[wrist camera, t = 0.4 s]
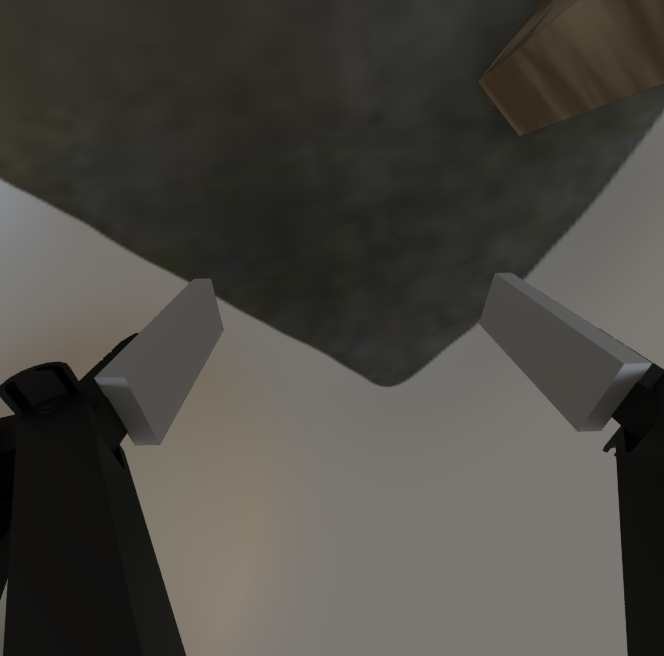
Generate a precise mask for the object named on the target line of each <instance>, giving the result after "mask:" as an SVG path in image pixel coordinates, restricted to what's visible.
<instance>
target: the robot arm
mask: <svg viewBox="0 0 664 656" xmlns="http://www.w3.org/2000/svg"><path fill="white" fill-rule="evenodd" d="M479 324H480V325H481V326H482V327H483V329H484V330H485V331H486V332H487V333H488V334H489V335H490V336H491V337H492V338H493V339H494V341H495V342H496V343H497V344H498V345H499V346H500V347H501V348H502V349H503V350H504V351H505V352H506V354H507V355H508V356H509V357H510V358H511V359H512V360H513V361H514V362H515V364H516V365H517V366H518V367H519V368H520V369H521V370H522V371H523V372H524V373H525V374H526V376H528V378H529V379H530V380H531V381H532V382H533V383H534V384H535V385H536V386H537V387H538V389H539V390H540V391H541V392H542V393H543V394H544V395H545V396H546V397H547V398H548V400H549V401H550V402H551V403H552V404H553V405H554V406H555V407H556V408H557V409H558V410H559V412H560V413H561V414H562V415H563V416H564V417H565V418H566V419H567V420H568V421H569V423H570V424H571V425H572V426H573V427H574V428H575V429H576V430H577V431H578V432H579V431H601V430H602V429H603V428H604V426H605V425H606V424H607V423H608V421H609V420H610V419H611V417H612V418H614V419H615V420H616V421H617V422H618V423H619V424H620V425H621V426H620V428H619V429H618V430H617V431H616V433H615V434H614V435H613V436H612V438H611V439H610V440H609V442H608V443H607V444H606V445H605V446H604V449H603V451H604V452H608V451H609V450H610V449H611V448H615V447H616V453H615V454H614V456H616V460H617V477H618V494H619V513H620V528H621V529H620V530H621V547H622V564H623V581H624V599H625V616H626V633H627V651H628V656H664V369H662V368H660V367H659V366H657V365H656V364H654V363H653V362H651V361H649V360H648V359H646V358H645V357H643V356H641V355H640V354H638V353H637V352H635V351H634V350H632V349H631V348H629V347H627V346H625V345H624V344H623V343H621V342H620V341H618V340H616V339H614V338H613V337H612V336H610V335H609V334H607V333H605V332H604V331H602V330H601V329H599V328H597V327H595V326H594V325H592V324H591V323H589V322H587V321H586V320H584V319H583V318H581V317H580V316H578V315H576V314H575V313H573V312H572V311H570V310H569V309H567V308H565V307H564V306H562V305H561V304H559V303H558V302H556V301H555V300H553V299H551V298H550V297H548V296H547V295H545V294H544V293H542V292H540V291H539V290H537V289H536V288H534V287H532V286H531V285H529V284H528V283H526V282H525V281H523V280H522V279H520V278H519V277H517V276H515V275H514V274H512V273H495V275H494V278H493V281H492V284H491V288H490V291H489V294H488V297H487V300H486V304H485V307H484V310H483V313H482V316H481V320H480V323H479ZM222 332H223V325H222V321H221V317H220V313H219V309H218V305H217V301H216V297H215V293H214V289H213V285H212V281H211V279H193V280H192V281H191V282H190V283H189V284H188V285H187V286H186V287H185V289H183V290H182V291H181V292H180V293H179V294H178V295H177V296H176V297H175V298H174V299H173V300H172V301H171V302H170V303H169V304H168V305H167V306H166V307H165V308H164V309H163V310H162V311H161V312H160V313H159V314H158V315H157V316H156V317H155V318H154V319H153V320H152V321H151V322H150V323H149V324H148V325H147V326H146V327H145V328H144V329H143V330H142V331H141V332H140V333H135V334H133V335H132V336H130V337H128V338H126V339H125V340H123V341H121V342H120V343H119V344H118V345H117V346H116V347H115V348H114V349H113V350H112V352H111V353H108V355H106V356H105V357H104V358H103V360H101V361H100V362H99V363H98V364H97V365H96V366H95V367H94V368H93V369H91V370H90V372H88V373H87V374H86V375H85V376H84V377H83V378H82V379H81V380H80V381H78V380H77V378H76V376H75V375H74V373H73V371H72V370H71V369H70V367H69V366H68V365H67V364H66V363H63V362H51V363H44V364H41V365H37V366H33V367H31V368H28V369H26V370H23V371H21V372H19V373H17V374H16V375H14V376H12V377H10V378H9V379H8V380H6V381H5V382H4V383H3V384H1V385H0V397H1V398H2V400H3V401H4V402H5V403H6V404H7V405H8V406H9V407H10V409H11V410H12V411H13V412H14V413H15V415H11V416H7V417H3V418H0V599H1V596H2V593H3V590H4V588H5V585H6V582H7V579H8V584H7V601H6V617H5V634H4V650H3V656H186V654H185V650H184V647H183V644H182V641H181V638H180V634H179V631H178V627H177V624H176V621H175V618H174V614H173V611H172V608H171V605H170V601H169V598H168V595H167V591H166V588H165V585H164V581H163V578H162V575H161V571H160V568H159V565H158V562H157V559H156V555H155V552H154V548H153V545H152V542H151V539H150V535H149V532H148V529H147V525H146V523H145V519H144V516H143V512H142V509H141V506H140V502H139V499H138V496H137V492H136V489H135V486H134V483H133V479H132V476H131V473H130V469H129V466H128V463H127V460H126V457H125V453H124V451H123V449H122V447H121V446H120V443H121V441H122V440H123V438H124V437H125V436H126V434H127V433H128V435H129V437H130V438H131V440H132V442H133V443H134V445H160V444H161V442H162V440H163V438H164V437H165V435H166V433H167V431H168V429H169V427H170V426H171V424H172V422H173V420H174V419H175V417H176V415H177V413H178V411H179V409H180V408H181V406H182V404H183V402H184V400H185V398H186V397H187V395H188V393H189V391H190V390H191V388H192V386H193V384H194V382H195V381H196V379H197V377H198V375H199V373H200V371H201V370H202V368H203V366H204V364H205V362H206V361H207V359H208V357H209V355H210V353H211V351H212V349H213V348H214V346H215V344H216V343H217V341H218V339H219V337H220V335H221V333H222Z"/></svg>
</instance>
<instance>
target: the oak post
mask: <svg viewBox="0 0 664 656" xmlns="http://www.w3.org/2000/svg"><path fill="white" fill-rule="evenodd" d="M477 83H478V84H479V85H480V86H481V88H482V89H483V90H484V92H485V93H486V94H487V95H488V97H489V98H490V99H491V100H492V102H493V103H494V104H495V106H496V107H497V108H498V109H499V111H500V112H501V113H502V114H503V116H504V117H505V118H506V120H507V121H508V122H509V123H510V125H511V126H512V127H513V129H514V130H515V131H516V132H517V134H518V135H519V136H522V135H525V134H527V133H530V132H533V131H535V130H538V129H541V128H543V127H546V126H549V125H552V124H554V123H557V122H560V121H562V120H565V119H568V118H570V117H573V116H576V115H579V114H581V113H584V112H587V111H589V110H592V109H595V108H597V107H600V106H603V105H606V104H608V103H611V102H614V101H616V100H619V99H622V98H625V97H627V96H630V95H633V94H635V93H638V92H641V91H643V90H646V89H649V88H652V87H654V86H657V85H660V84H662V83H664V0H542V1H541V2H540V3H539V5H538V6H537V7H536V8H535V10H534V11H533V12H532V13H531V15H530V16H529V17H528V19H527V20H526V21H525V22H524V24H523V25H522V26H521V27H520V29H519V30H518V31H517V32H516V34H515V35H514V36H513V37H512V39H511V40H510V41H509V43H508V44H507V45H506V46H505V48H504V49H503V50H502V51H501V53H500V54H499V55H498V56H497V58H496V59H495V60H494V62H493V63H492V64H491V65H490V67H489V68H488V69H487V70H486V72H485V73H484V74H483V75H482V77H481V78H480V79H479V81H478V82H477Z"/></svg>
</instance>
